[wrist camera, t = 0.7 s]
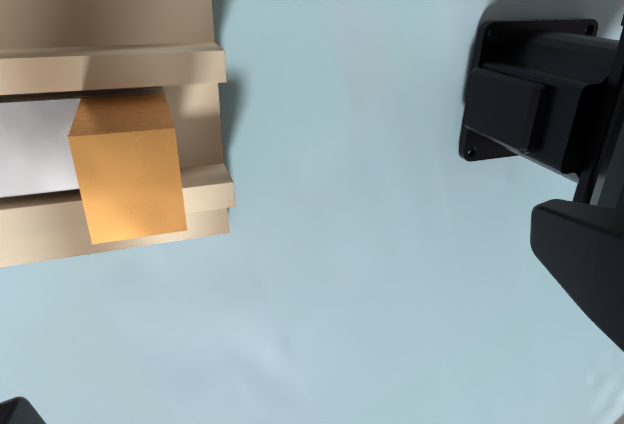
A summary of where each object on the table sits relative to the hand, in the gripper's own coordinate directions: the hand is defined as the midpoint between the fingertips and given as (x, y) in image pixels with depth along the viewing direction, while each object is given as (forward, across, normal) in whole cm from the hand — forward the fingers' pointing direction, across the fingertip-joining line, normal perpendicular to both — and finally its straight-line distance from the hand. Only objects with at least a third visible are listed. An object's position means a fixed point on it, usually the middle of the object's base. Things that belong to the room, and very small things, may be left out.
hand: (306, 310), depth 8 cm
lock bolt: (+11, +6, -1) cm, 13 cm away
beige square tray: (+13, +4, -1) cm, 14 cm away
